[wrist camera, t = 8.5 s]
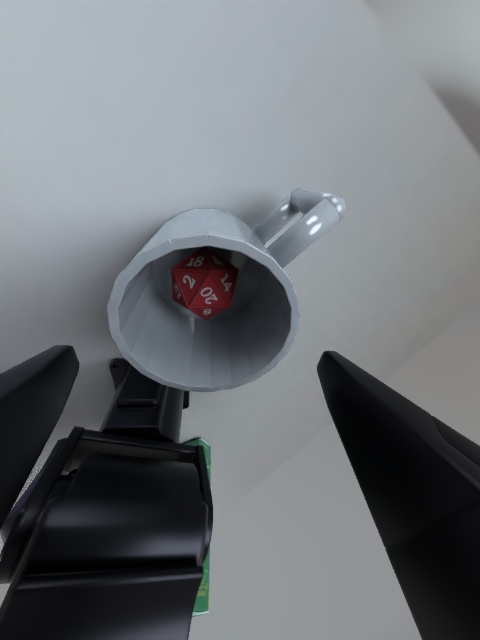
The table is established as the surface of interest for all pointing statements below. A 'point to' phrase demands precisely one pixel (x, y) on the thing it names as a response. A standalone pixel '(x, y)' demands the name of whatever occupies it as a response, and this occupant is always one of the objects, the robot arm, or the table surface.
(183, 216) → the grey mug
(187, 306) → the dice
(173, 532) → the robot arm
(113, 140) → the table surface
